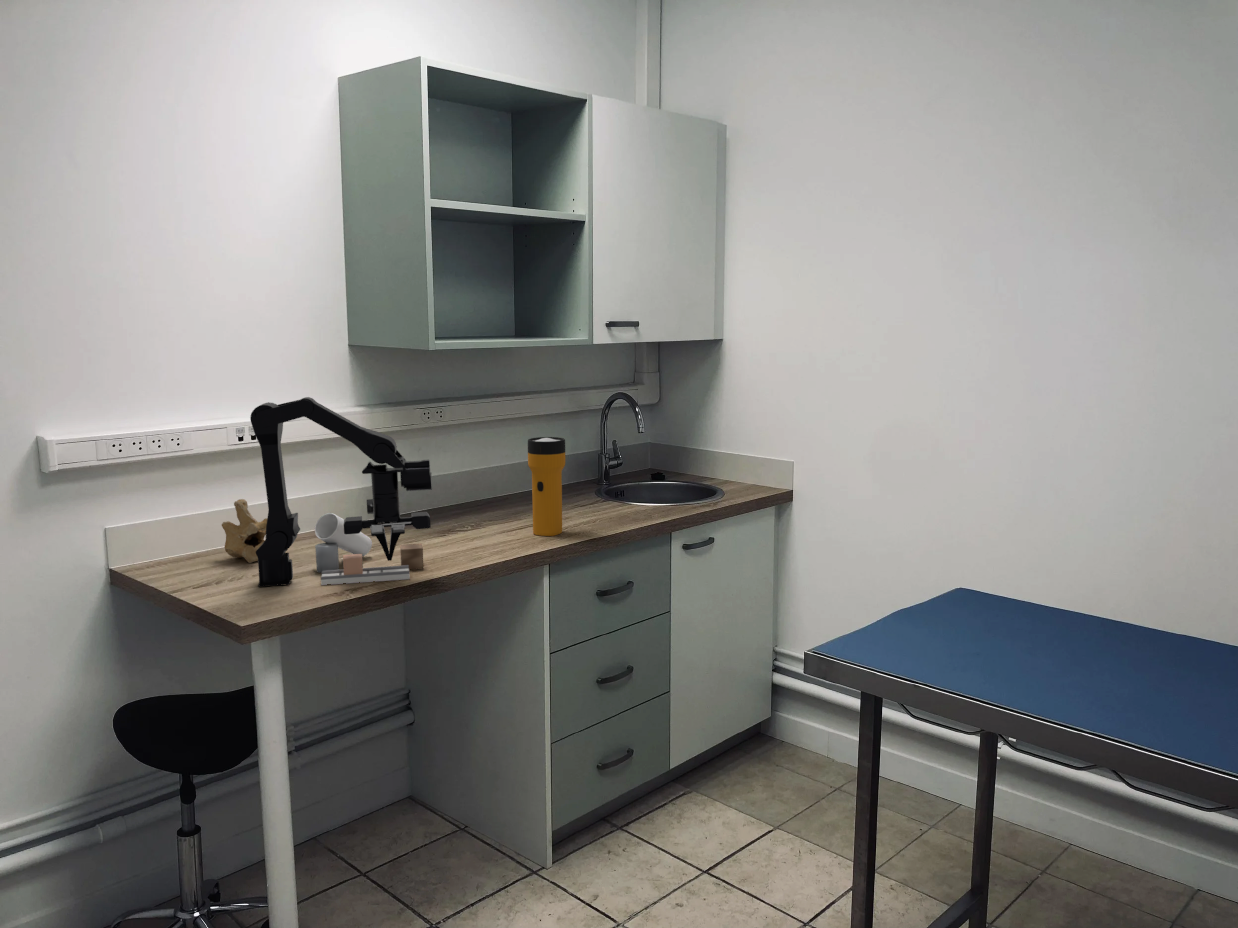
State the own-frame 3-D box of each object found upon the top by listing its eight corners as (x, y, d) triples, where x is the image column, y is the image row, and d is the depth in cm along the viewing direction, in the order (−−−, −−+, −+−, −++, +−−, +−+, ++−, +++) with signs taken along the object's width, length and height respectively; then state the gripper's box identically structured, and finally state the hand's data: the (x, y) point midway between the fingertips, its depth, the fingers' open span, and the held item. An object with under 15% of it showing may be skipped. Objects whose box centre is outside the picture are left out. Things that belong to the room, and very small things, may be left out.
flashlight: (571, 436, 261) (553, 441, 252) (573, 531, 265) (555, 538, 256) (539, 434, 265) (520, 439, 256) (541, 527, 269) (522, 535, 260)
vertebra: (252, 551, 243) (248, 492, 241) (280, 561, 234) (276, 500, 232) (218, 558, 237) (213, 497, 235) (245, 568, 228) (241, 505, 225)
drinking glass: (376, 554, 236) (339, 534, 223) (352, 563, 238) (314, 543, 225) (374, 530, 239) (337, 508, 226) (351, 538, 241) (313, 517, 228)
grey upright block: (316, 573, 223) (314, 548, 222) (317, 568, 227) (316, 543, 227) (338, 572, 224) (337, 546, 223) (339, 566, 229) (338, 541, 228)
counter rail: (321, 585, 213) (320, 577, 213) (322, 578, 219) (322, 570, 218) (409, 578, 218) (409, 571, 218) (408, 572, 223) (408, 564, 223)
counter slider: (343, 576, 215) (343, 558, 214) (344, 572, 219) (343, 554, 218) (362, 575, 216) (361, 557, 215) (362, 570, 220) (361, 553, 219)
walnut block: (401, 570, 225) (400, 549, 225) (401, 565, 230) (400, 544, 229) (423, 569, 227) (422, 548, 226) (422, 563, 231) (421, 543, 231)
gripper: (426, 483, 226) (429, 548, 229) (342, 488, 222) (347, 555, 224) (428, 491, 216) (432, 560, 218) (341, 497, 211) (346, 567, 214)
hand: (389, 560), depth 219 cm, fingers closed
